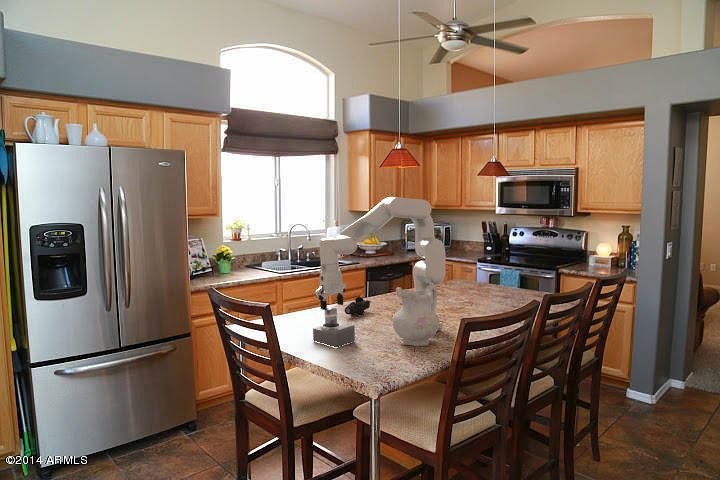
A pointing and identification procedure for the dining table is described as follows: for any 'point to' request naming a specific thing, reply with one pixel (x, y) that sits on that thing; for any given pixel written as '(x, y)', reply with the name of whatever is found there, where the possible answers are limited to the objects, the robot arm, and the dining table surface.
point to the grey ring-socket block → (334, 334)
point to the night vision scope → (357, 306)
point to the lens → (331, 317)
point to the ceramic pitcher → (416, 316)
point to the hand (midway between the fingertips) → (332, 307)
